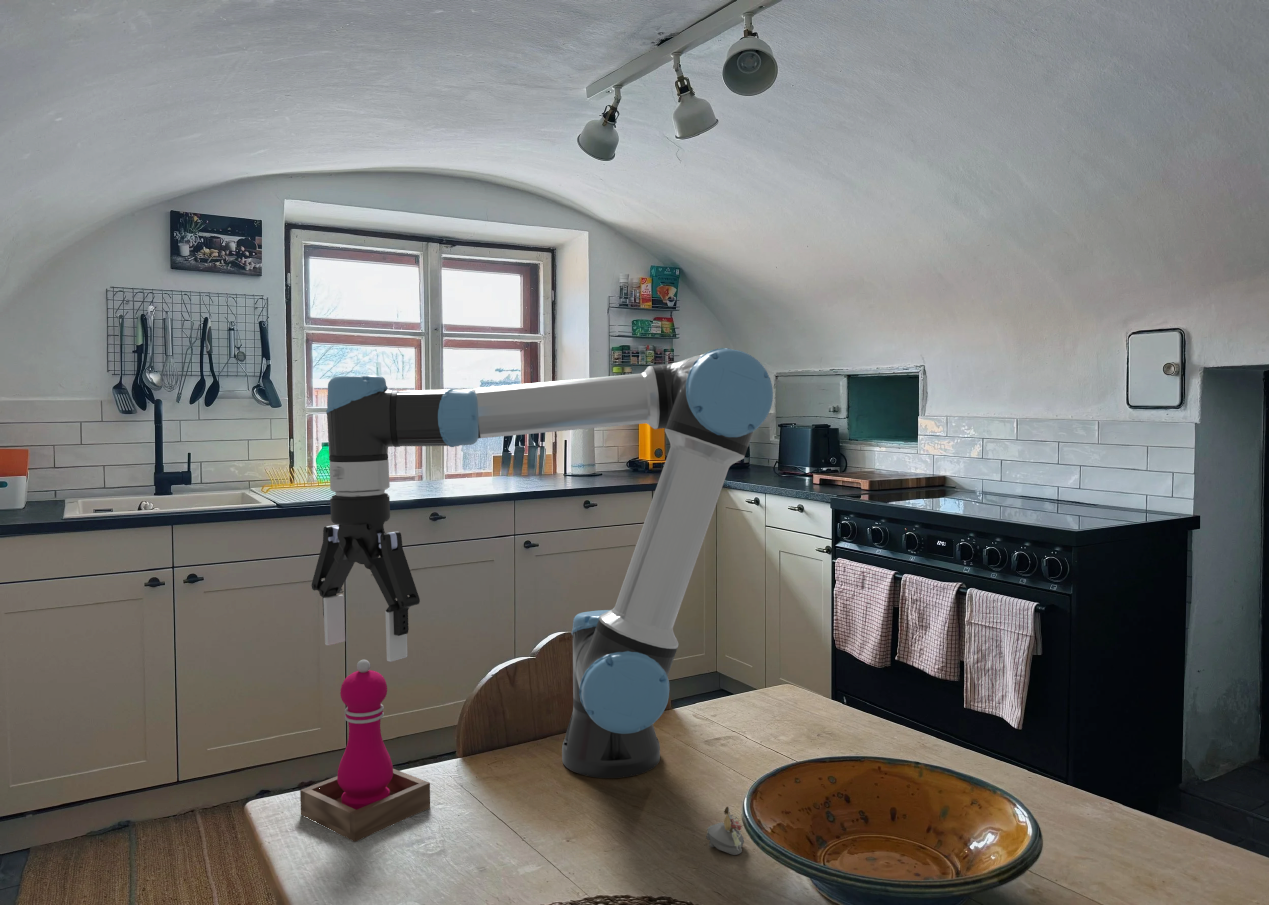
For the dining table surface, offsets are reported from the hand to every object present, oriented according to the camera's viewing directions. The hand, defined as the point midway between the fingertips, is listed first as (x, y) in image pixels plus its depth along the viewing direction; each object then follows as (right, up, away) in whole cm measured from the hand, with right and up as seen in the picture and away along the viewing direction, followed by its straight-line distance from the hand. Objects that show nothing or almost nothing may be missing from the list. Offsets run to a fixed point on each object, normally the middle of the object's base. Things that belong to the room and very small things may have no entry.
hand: (365, 651), depth 121 cm
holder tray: (0, -22, +1) cm, 22 cm away
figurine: (+47, -23, -9) cm, 53 cm away
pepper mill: (0, -21, +1) cm, 21 cm away
